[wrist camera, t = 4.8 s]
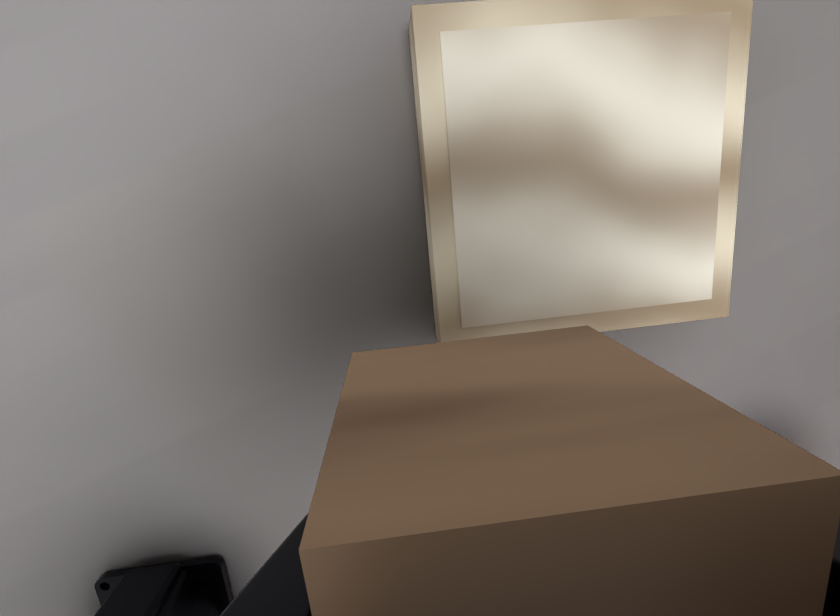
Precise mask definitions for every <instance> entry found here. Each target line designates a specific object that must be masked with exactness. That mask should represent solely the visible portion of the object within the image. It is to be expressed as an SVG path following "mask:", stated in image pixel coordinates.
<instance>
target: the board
mask: <svg viewBox="0 0 840 616" xmlns="http://www.w3.org/2000/svg"><path fill="white" fill-rule="evenodd" d="M752 7H753V0H485V1H469V2H454V3H439V4H423V5H411V13H410V21H409V29H408V30H409V41H410V52H411V63H412V74H413V85H414V96H415V107H416V118H417V129H418V140H419V151H420V162H421V173H422V184H423V195H424V207H425V218H426V229H427V240H428V251H429V262H430V273H431V284H432V295H433V306H434V317H435V328H436V339H437V341H438V343H439V342H448V341H457V340H465V339H474V338H483V337H491V336H500V335H509V334H517V333H526V332H535V331H543V330H552V329H561V328H569V327H578V326H587V325H588V326H590V327H591V328H593V329H595V330H597V331H598V332H603V331H611V330H620V329H628V328H636V327H645V326H653V325H661V324H669V323H678V322H686V321H694V320H703V319H711V318H719V317H728V313H729V301H730V288H731V275H732V262H733V250H734V237H735V224H736V211H737V199H738V186H739V173H740V160H741V148H742V135H743V122H744V109H745V97H746V84H747V71H748V58H749V46H750V33H751V20H752Z"/></svg>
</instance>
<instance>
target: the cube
mask: <svg viewBox="0 0 840 616" xmlns="http://www.w3.org/2000/svg"><path fill="white" fill-rule="evenodd" d="M839 519H840V470H839V469H837V468H835V467H834V466H832V465H830V464H828V463H827V462H825V461H823V460H821V459H820V458H818V457H816V456H814V455H813V454H811V453H809V452H807V451H806V450H804V449H802V448H801V447H799V446H797V445H795V444H794V443H792V442H790V441H788V440H787V439H785V438H783V437H781V436H780V435H778V434H776V433H774V432H773V431H771V430H769V429H767V428H766V427H764V426H762V425H760V424H759V423H757V422H755V421H753V420H752V419H750V418H748V417H746V416H745V415H743V414H741V413H739V412H738V411H736V410H734V409H733V408H731V407H729V406H727V405H726V404H724V403H722V402H720V401H719V400H717V399H715V398H713V397H712V396H710V395H708V394H706V393H705V392H703V391H701V390H699V389H698V388H696V387H694V386H692V385H691V384H689V383H687V382H685V381H684V380H682V379H680V378H678V377H677V376H675V375H673V374H671V373H670V372H668V371H666V370H665V369H663V368H661V367H659V366H658V365H656V364H654V363H652V362H651V361H649V360H647V359H645V358H644V357H642V356H640V355H638V354H637V353H635V352H633V351H631V350H630V349H628V348H626V347H624V346H623V345H621V344H619V343H617V342H616V341H614V340H612V339H610V338H609V337H607V336H605V335H603V334H602V333H600V332H598V331H597V330H595V329H593V328H591V327H590V326H588V325H587V326H578V327H569V328H561V329H552V330H543V331H535V332H526V333H517V334H509V335H500V336H491V337H483V338H474V339H465V340H457V341H448V342H439V343H431V344H422V345H413V346H405V347H396V348H387V349H379V350H370V351H361V352H353V353H352V355H351V358H350V362H349V366H348V369H347V373H346V377H345V381H344V384H343V388H342V392H341V395H340V399H339V403H338V406H337V410H336V414H335V418H334V421H333V425H332V429H331V432H330V436H329V440H328V443H327V447H326V451H325V455H324V458H323V462H322V466H321V469H320V473H319V477H318V480H317V484H316V488H315V492H314V495H313V499H312V503H311V506H310V510H309V514H308V517H307V521H306V525H305V529H304V532H303V536H302V540H301V543H300V547H299V555H300V560H301V564H302V569H303V574H304V579H305V584H306V589H307V594H308V599H309V604H310V609H311V614H312V616H822V613H823V608H824V602H825V597H826V591H827V586H828V580H829V575H830V569H831V563H832V558H833V552H834V547H835V541H836V536H837V530H838V525H839Z"/></svg>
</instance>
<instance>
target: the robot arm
mask: <svg viewBox="0 0 840 616" xmlns="http://www.w3.org/2000/svg"><path fill="white" fill-rule="evenodd" d="M308 514H309V513H308ZM308 514H307V515H306V516H305V517H304V518H303V520H302V521H301V522H300V523H299V524H298V525H297V527H296V528H295V529H294V530H293V531H292V532H291V534H290V535H289V536H288V537H287V538H286V539H285V541H284V542H283V543H282V544H281V545H280V546H279V547H278V549H277V550H276V551H275V552H274V553H273V554H272V556H271V557H270V558H269V559H268V560H267V561H266V563H265V564H264V565H263V566H262V567H261V568H260V570H259V571H258V572H257V573H256V574H255V575H254V577H253V578H252V579H251V580H250V581H249V582H248V583H247V585H246V586H245V587H244V588H243V589H242V590H241V592H240V593H239V594H238V595H237V596H236V597H235V599H234V600H233V597H232V593H231V589H230V585H229V581H228V577H227V573H226V569H225V564H224V562H223V560H222V559H221V558H219V557H206V558H199V559H193V560H186V561H179V562H172V563H165V564H159V565H152V566H145V567H138V568H132V569H125V570H118V571H111V572H106V573H104V574H102V575H101V576H100V578H99V579H98V580H97V581H96V583H95V589H96V592H97V595H98V598H99V601H100V604H101V608H100V609H99V610H98V612H97V613H96V614H95V616H312V614H311V609H310V604H309V599H308V594H307V589H306V584H305V579H304V574H303V569H302V564H301V560H300V555H299V547H300V543H301V540H302V536H303V532H304V529H305V525H306V521H307V517H308ZM211 566H213V567H215V568H212V567H211ZM822 616H840V519H839V525H838V530H837V536H836V541H835V547H834V552H833V558H832V563H831V569H830V575H829V580H828V586H827V591H826V597H825V602H824V608H823V613H822Z"/></svg>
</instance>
